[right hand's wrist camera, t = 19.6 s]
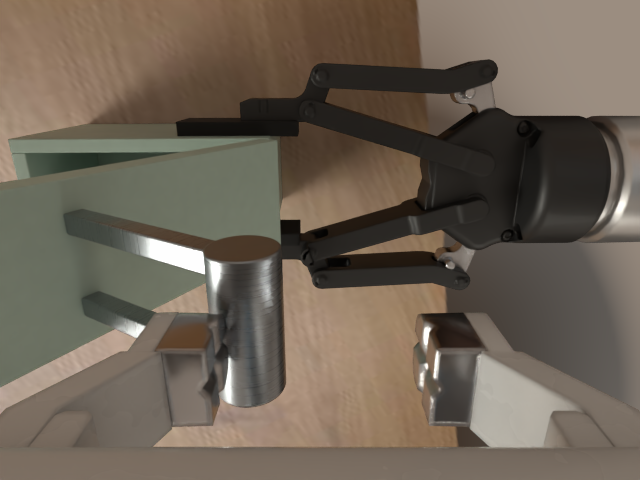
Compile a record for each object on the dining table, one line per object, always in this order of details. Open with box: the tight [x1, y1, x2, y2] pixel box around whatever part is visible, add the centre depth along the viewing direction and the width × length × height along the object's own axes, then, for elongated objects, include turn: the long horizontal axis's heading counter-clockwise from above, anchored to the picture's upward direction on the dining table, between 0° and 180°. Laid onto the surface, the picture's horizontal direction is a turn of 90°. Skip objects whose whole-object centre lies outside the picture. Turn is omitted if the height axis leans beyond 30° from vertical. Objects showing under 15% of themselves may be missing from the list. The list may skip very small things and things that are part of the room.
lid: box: [0, 139, 286, 407], centre depth 16 cm, size 14×6×9 cm
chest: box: [8, 124, 282, 208], centre depth 28 cm, size 14×6×9 cm, turn 90°
